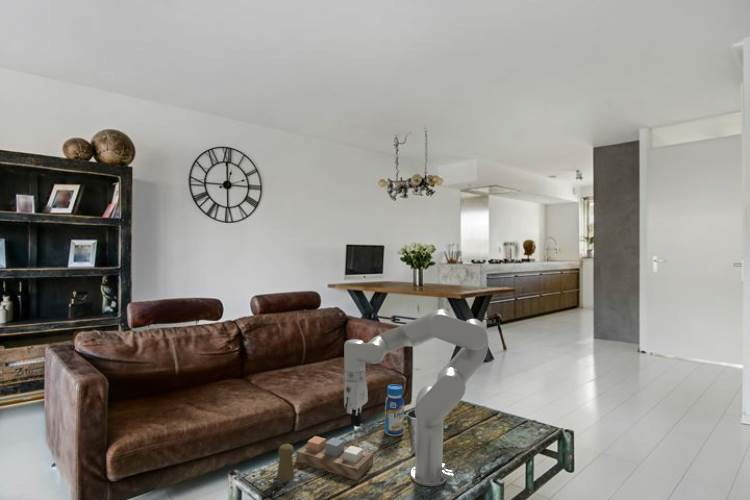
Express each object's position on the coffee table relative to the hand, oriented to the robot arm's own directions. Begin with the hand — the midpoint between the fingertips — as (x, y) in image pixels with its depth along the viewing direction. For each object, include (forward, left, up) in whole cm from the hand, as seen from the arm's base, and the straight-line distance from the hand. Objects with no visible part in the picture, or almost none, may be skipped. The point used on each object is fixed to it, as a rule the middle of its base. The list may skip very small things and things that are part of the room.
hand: (355, 424), depth 155 cm
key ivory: (+1, 0, -14) cm, 14 cm away
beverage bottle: (0, -34, -16) cm, 38 cm away
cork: (+19, +16, -16) cm, 30 cm away
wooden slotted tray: (+9, 0, -16) cm, 18 cm away
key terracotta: (+17, 0, -14) cm, 22 cm away
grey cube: (+9, 0, -13) cm, 16 cm away
